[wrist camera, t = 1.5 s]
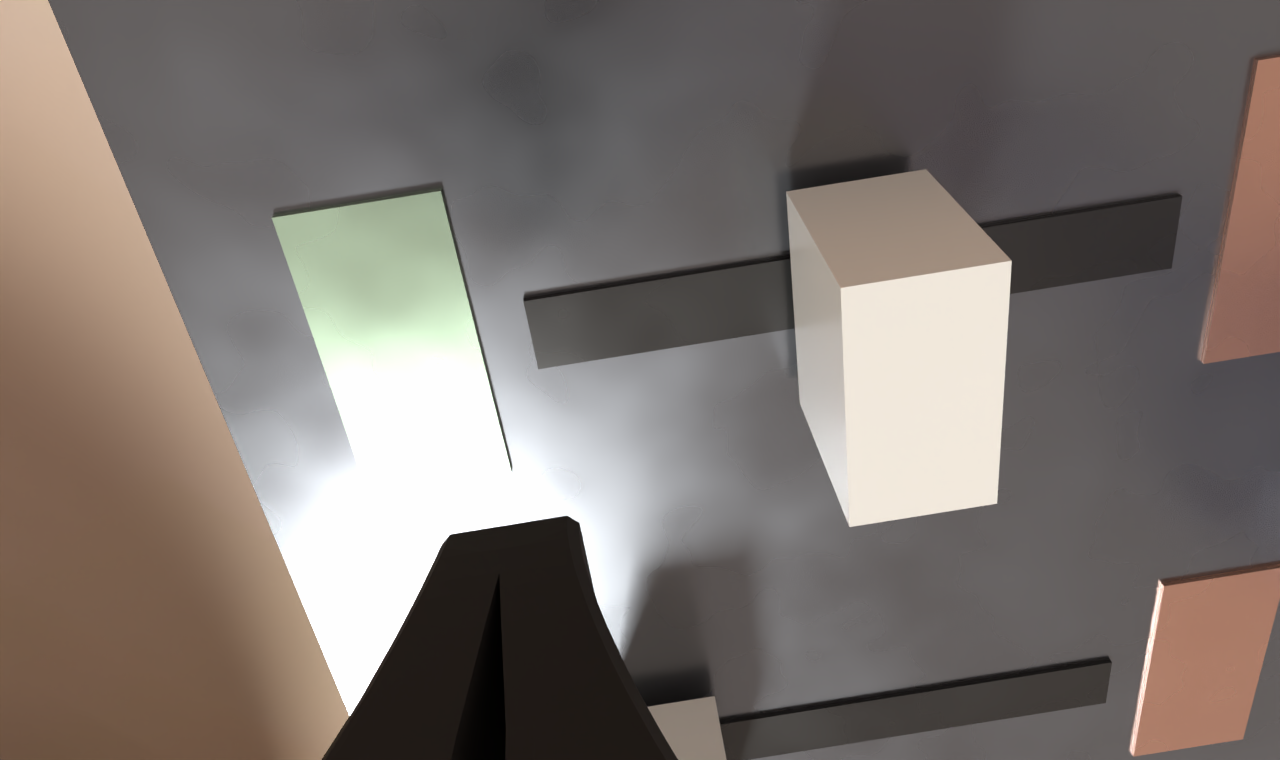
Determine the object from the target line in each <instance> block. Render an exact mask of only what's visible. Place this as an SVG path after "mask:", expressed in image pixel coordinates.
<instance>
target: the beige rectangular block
mask: <svg viewBox="0 0 1280 760" xmlns="http://www.w3.org/2000/svg"><path fill="white" fill-rule="evenodd" d="M786 197H787V212H788V228H789V243H790V259H791V275H792V290H793V306H794V321H795V337H796V352H797V368H798V384H799V399H800V405H801V407H802V410H803V412H804V415H805V417H806V420H807V422H808V425H809V427H810V430H811V432H812V435H813V437H814V440H815V442H816V445H817V447H818V450H819V452H820V455H821V457H822V460H823V462H824V465H825V467H826V470H827V472H828V475H829V477H830V480H831V482H832V485H833V487H834V490H835V492H836V495H837V497H838V500H839V502H840V505H841V507H842V510H843V512H844V515H845V517H846V520H847V522H848V525H849V527H854V526H860V525H866V524H872V523H879V522H885V521H891V520H898V519H904V518H910V517H916V516H923V515H929V514H935V513H942V512H948V511H954V510H960V509H967V508H973V507H979V506H985V505H992V504H997V497H998V480H999V464H1000V447H1001V431H1002V414H1003V398H1004V381H1005V364H1006V348H1007V331H1008V315H1009V298H1010V282H1011V265H1012V260H1011V259H1010V258H1009V257H1008V256H1007V255H1006V254H1005V253H1004V252H1003V251H1002V250H1001V249H1000V248H999V247H998V245H997V244H996V243H995V242H994V241H993V240H992V239H991V238H990V237H989V236H988V235H987V234H986V233H985V232H984V231H983V229H982V228H981V227H980V226H979V225H978V224H977V223H976V222H975V221H974V220H973V219H972V218H971V217H970V216H969V215H968V213H967V212H966V211H965V210H964V209H963V208H962V207H961V206H960V205H959V204H958V203H957V202H956V201H955V200H954V199H953V197H952V196H951V195H950V194H949V193H948V192H947V191H946V190H945V189H944V188H943V187H942V186H941V185H940V184H939V182H938V181H937V180H936V179H935V178H934V177H933V176H932V175H931V174H930V173H929V172H928V171H927V170H926V169H924V170H918V171H912V172H905V173H899V174H893V175H887V176H880V177H874V178H868V179H862V180H855V181H849V182H843V183H836V184H830V185H824V186H818V187H811V188H805V189H799V190H793V191H786Z"/></svg>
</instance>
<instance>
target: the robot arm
mask: <svg viewBox="0 0 1280 760" xmlns="http://www.w3.org/2000/svg"><path fill="white" fill-rule="evenodd" d="M322 760H678V759H677V757H676V755H675V754H674V752H673V750H672V749H671V747H670V745H669V744H668V742H667V740H666V739H665V737H664V735H663V734H662V732H661V730H660V729H659V727H658V725H657V723H656V721H655V720H654V718H653V716H652V714H651V712H650V711H649V709H648V707H647V705H646V704H645V702H644V700H643V698H642V696H641V695H640V693H639V691H638V689H637V687H636V685H635V683H634V681H633V679H632V677H631V675H630V673H629V671H628V670H627V667H626V665H625V663H624V661H623V659H622V657H621V655H620V652H619V650H618V648H617V646H616V644H615V642H614V639H613V637H612V635H611V633H610V631H609V629H608V627H607V624H606V622H605V620H604V617H603V615H602V612H601V610H600V607H599V605H598V602H597V599H596V596H595V592H594V588H593V583H592V578H591V574H590V569H589V565H588V560H587V555H586V551H585V546H584V541H583V537H582V532H581V527H580V523H579V522H577V521H575V520H574V519H572V518H570V517H569V516H561V517H555V518H548V519H542V520H536V521H530V522H524V523H517V524H511V525H505V526H499V527H492V528H486V529H480V530H474V531H468V532H461V533H455V534H450V535H449V536H448V538H447V539H446V540H445V541H444V542H443V544H442V545H441V547H440V549H439V552H438V554H437V556H436V558H435V560H434V562H433V564H432V566H431V568H430V570H429V572H428V575H427V577H426V579H425V581H424V583H423V585H422V587H421V589H420V591H419V593H418V595H417V597H416V599H415V601H414V603H413V605H412V607H411V608H410V610H409V612H408V614H407V616H406V618H405V620H404V622H403V624H402V626H401V627H400V629H399V631H398V633H397V635H396V637H395V639H394V641H393V642H392V644H391V646H390V648H389V649H388V651H387V653H386V655H385V656H384V658H383V660H382V662H381V663H380V665H379V667H378V669H377V670H376V672H375V674H374V676H373V677H372V679H371V681H370V683H369V685H368V686H367V688H366V690H365V692H364V693H363V695H362V697H361V698H360V700H359V702H358V703H357V705H356V707H355V708H354V710H353V712H352V713H351V715H350V716H349V718H348V720H347V721H346V723H345V724H344V726H343V727H342V729H341V730H340V732H339V734H338V735H337V737H336V738H335V740H334V741H333V743H332V745H331V746H330V748H329V749H328V751H327V752H326V754H325V755H324V757H323V759H322Z"/></svg>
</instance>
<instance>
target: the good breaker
mask: <svg viewBox="0 0 1280 760" xmlns="http://www.w3.org/2000/svg"><path fill="white" fill-rule="evenodd" d="M648 709H649V711H650V712H651V714H652V716H653V718H654V720H655V721H656V723H657V725H658V727H659V729H660V730H661V732H662V734H663V735H664V737H665V739H666V740H667V742H668V744H669V745H670V747H671V749H672V750H673V752H674V754H675V755H676V757H677V759H678V760H726V754H725V749H724V744H723V738H722V733H721V727H720V722H719V716H718V711H717V706H716V700H715V696H712V697H706V698H699V699H693V700H687V701H680V702H674V703H668V704H662V705H655V706H649V707H648Z"/></svg>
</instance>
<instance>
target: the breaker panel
mask: <svg viewBox="0 0 1280 760" xmlns="http://www.w3.org/2000/svg"><path fill="white" fill-rule="evenodd" d="M48 1H49V3H50V6H51V8H52V10H53V13H54V15H55V17H56V20H57V22H58V25H59V27H60V29H61V32H62V34H63V36H64V39H65V41H66V44H67V46H68V48H69V51H70V53H71V55H72V58H73V60H74V63H75V65H76V67H77V70H78V72H79V74H80V77H81V79H82V82H83V84H84V86H85V89H86V91H87V93H88V96H89V98H90V101H91V103H92V105H93V108H94V110H95V112H96V115H97V117H98V120H99V122H100V124H101V127H102V129H103V131H104V134H105V136H106V139H107V141H108V143H109V146H110V148H111V150H112V153H113V155H114V158H115V160H116V162H117V165H118V167H119V169H120V172H121V174H122V177H123V179H124V181H125V184H126V186H127V188H128V191H129V193H130V196H131V198H132V200H133V203H134V205H135V207H136V210H137V212H138V215H139V217H140V219H141V222H142V224H143V226H144V229H145V231H146V234H147V236H148V238H149V241H150V243H151V245H152V248H153V250H154V253H155V255H156V257H157V260H158V262H159V264H160V267H161V269H162V272H163V274H164V276H165V279H166V281H167V283H168V286H169V288H170V291H171V293H172V295H173V298H174V300H175V302H176V305H177V307H178V310H179V312H180V314H181V317H182V319H183V321H184V324H185V326H186V328H187V331H188V333H189V336H190V338H191V340H192V343H193V345H194V347H195V350H196V352H197V355H198V357H199V359H200V362H201V364H202V366H203V369H204V371H205V374H206V376H207V378H208V381H209V383H210V385H211V388H212V390H213V393H214V395H215V397H216V400H217V402H218V404H219V407H220V409H221V412H222V414H223V416H224V419H225V421H226V423H227V426H228V428H229V431H230V433H231V435H232V438H233V440H234V442H235V445H236V447H237V450H238V452H239V454H240V457H241V459H242V461H243V464H244V466H245V469H246V471H247V473H248V476H249V478H250V480H251V483H252V485H253V488H254V490H255V492H256V495H257V497H258V499H259V502H260V504H261V507H262V509H263V511H264V514H265V516H266V518H267V521H268V523H269V526H270V528H271V530H272V533H273V535H274V537H275V540H276V542H277V545H278V547H279V549H280V552H281V554H282V556H283V559H284V561H285V564H286V566H287V568H288V571H289V573H290V575H291V578H292V580H293V583H294V585H295V587H296V590H297V592H298V594H299V597H300V599H301V602H302V604H303V606H304V609H305V611H306V613H307V616H308V618H309V621H310V623H311V625H312V628H313V630H314V632H315V635H316V637H317V640H318V642H319V644H320V647H321V649H322V651H323V654H324V656H325V659H326V661H327V663H328V666H329V668H330V670H331V673H332V675H333V678H334V680H335V682H336V685H337V687H338V689H339V692H340V694H341V697H342V699H343V701H344V704H345V706H346V708H347V711H348V713H349V716H350V715H351V713H352V712H353V710H354V708H355V707H356V705H357V703H358V702H359V700H360V698H361V697H362V695H363V693H364V692H365V690H366V688H367V686H368V685H369V683H370V681H371V679H372V677H373V676H374V674H375V672H376V670H377V669H378V667H379V665H380V663H381V662H382V660H383V658H384V656H385V655H386V653H387V651H388V649H389V648H390V646H391V644H392V642H393V641H394V639H395V637H396V635H397V633H398V631H399V629H400V627H401V626H402V624H403V622H404V620H405V618H406V616H407V614H408V612H409V610H410V608H411V607H412V605H413V603H414V601H415V599H416V597H417V595H418V593H419V591H420V589H421V587H422V585H423V583H424V581H425V579H426V577H427V575H428V572H429V570H430V568H431V566H432V564H433V562H434V560H435V558H436V556H437V554H438V552H439V549H440V547H441V545H442V544H443V542H444V541H445V540H446V539H447V538H448V536H449V535H450V534H455V533H461V532H468V531H474V530H480V529H486V528H492V527H499V526H505V525H511V524H517V523H524V522H530V521H536V520H542V519H548V518H555V517H561V516H569V517H570V518H572V519H574V520H575V521H577V522H579V523H580V527H581V532H582V537H583V541H584V546H585V551H586V555H587V560H588V565H589V569H590V574H591V578H592V583H593V588H594V592H595V596H596V599H597V602H598V605H599V607H600V610H601V612H602V615H603V617H604V620H605V622H606V624H607V627H608V629H609V631H610V633H611V635H612V637H613V639H614V642H615V644H616V646H617V648H618V650H619V652H620V655H621V657H622V659H623V661H624V663H625V665H626V667H627V670H628V671H629V673H630V675H631V677H632V679H633V681H634V683H635V685H636V687H637V689H638V691H639V693H640V695H641V696H642V698H643V700H644V702H645V704H646V705H647V707H649V706H655V705H662V704H668V703H674V702H680V701H687V700H693V699H699V698H706V697H712V696H715V700H716V706H717V711H718V716H719V722H720V727H721V733H722V738H723V744H724V749H725V754H726V760H1280V0H48ZM924 169H926V170H927V171H928V172H929V173H930V174H931V175H932V176H933V177H934V178H935V179H936V180H937V181H938V182H939V184H940V185H941V186H942V187H943V188H944V189H945V190H946V191H947V192H948V193H949V194H950V195H951V196H952V197H953V199H954V200H955V201H956V202H957V203H958V204H959V205H960V206H961V207H962V208H963V209H964V210H965V211H966V212H967V213H968V215H969V216H970V217H971V218H972V219H973V220H974V221H975V222H976V223H977V224H978V225H979V226H980V227H981V228H982V229H983V231H984V232H985V233H986V234H987V235H988V236H989V237H990V238H991V239H992V240H993V241H994V242H995V243H996V244H997V245H998V247H999V248H1000V249H1001V250H1002V251H1003V252H1004V253H1005V254H1006V255H1007V256H1008V257H1009V258H1010V259H1011V260H1012V265H1011V282H1010V298H1009V315H1008V331H1007V348H1006V364H1005V381H1004V398H1003V414H1002V431H1001V447H1000V464H999V480H998V497H997V504H992V505H985V506H979V507H973V508H967V509H960V510H954V511H948V512H942V513H935V514H929V515H923V516H916V517H910V518H904V519H898V520H891V521H885V522H879V523H872V524H866V525H860V526H854V527H849V525H848V522H847V520H846V517H845V515H844V512H843V510H842V507H841V505H840V502H839V500H838V497H837V495H836V492H835V490H834V487H833V485H832V482H831V480H830V477H829V475H828V472H827V470H826V467H825V465H824V462H823V460H822V457H821V455H820V452H819V450H818V447H817V445H816V442H815V440H814V437H813V435H812V432H811V430H810V427H809V425H808V422H807V420H806V417H805V415H804V412H803V410H802V407H801V405H800V399H799V384H798V368H797V352H796V337H795V321H794V306H793V290H792V275H791V259H790V243H789V228H788V212H787V197H786V191H793V190H799V189H805V188H811V187H818V186H824V185H830V184H836V183H843V182H849V181H855V180H862V179H868V178H874V177H880V176H887V175H893V174H899V173H905V172H912V171H918V170H924Z"/></svg>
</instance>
